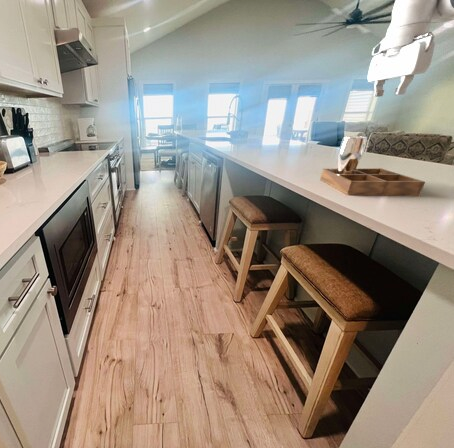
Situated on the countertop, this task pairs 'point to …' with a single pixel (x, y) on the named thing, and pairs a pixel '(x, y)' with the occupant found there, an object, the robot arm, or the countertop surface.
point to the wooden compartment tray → (373, 182)
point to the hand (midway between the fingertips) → (387, 95)
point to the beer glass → (350, 154)
